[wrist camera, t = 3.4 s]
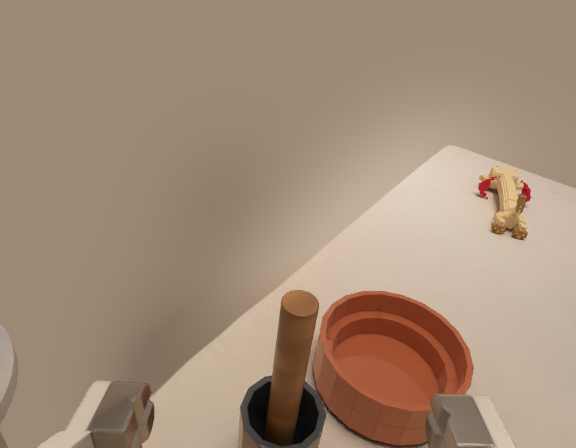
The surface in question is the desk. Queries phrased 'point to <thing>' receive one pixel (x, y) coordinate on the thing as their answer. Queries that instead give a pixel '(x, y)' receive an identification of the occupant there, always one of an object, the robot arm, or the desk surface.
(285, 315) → the stirring stick
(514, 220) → the cat figure
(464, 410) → the robot arm
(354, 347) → the bowl
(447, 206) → the desk surface
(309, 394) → the utensil pot
